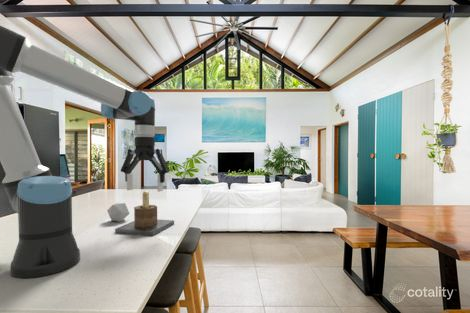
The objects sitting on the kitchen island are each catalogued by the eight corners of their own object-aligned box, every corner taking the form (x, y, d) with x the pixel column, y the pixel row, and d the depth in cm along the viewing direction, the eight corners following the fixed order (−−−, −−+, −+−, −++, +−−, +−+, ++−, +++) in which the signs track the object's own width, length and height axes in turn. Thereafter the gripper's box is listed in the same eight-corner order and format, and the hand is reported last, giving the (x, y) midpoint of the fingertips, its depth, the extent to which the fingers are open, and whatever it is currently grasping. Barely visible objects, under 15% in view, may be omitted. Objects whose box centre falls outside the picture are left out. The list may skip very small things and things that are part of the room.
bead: (149, 227, 101) (149, 209, 100) (130, 226, 103) (130, 208, 102) (160, 222, 108) (160, 205, 108) (143, 221, 110) (142, 204, 110)
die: (133, 220, 120) (129, 202, 124) (124, 215, 112) (121, 195, 117) (115, 228, 119) (112, 208, 124) (105, 223, 111) (102, 202, 116)
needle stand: (153, 235, 96) (152, 194, 96) (115, 232, 100) (114, 193, 100) (174, 223, 111) (173, 188, 111) (140, 221, 115) (139, 188, 115)
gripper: (178, 136, 106) (177, 190, 106) (123, 137, 112) (123, 188, 112) (168, 135, 98) (168, 192, 98) (111, 136, 104) (111, 190, 105)
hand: (144, 190), depth 105 cm, fingers open, 13 cm apart
